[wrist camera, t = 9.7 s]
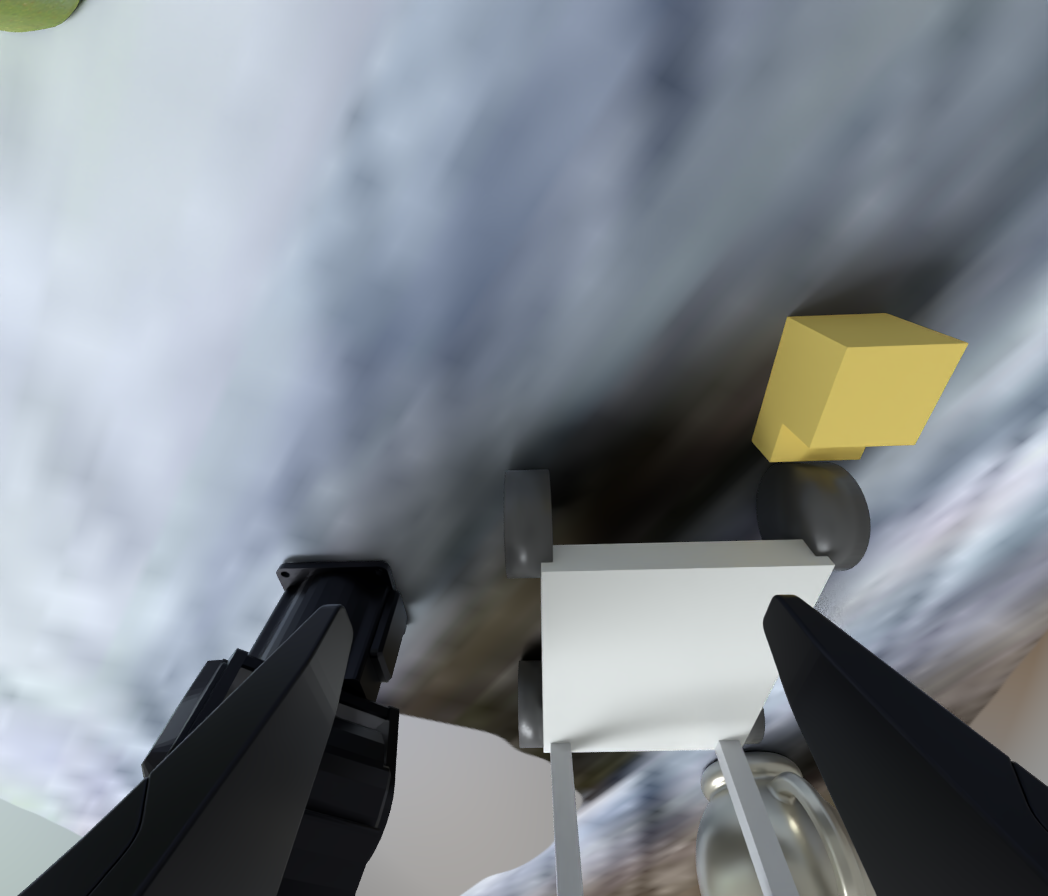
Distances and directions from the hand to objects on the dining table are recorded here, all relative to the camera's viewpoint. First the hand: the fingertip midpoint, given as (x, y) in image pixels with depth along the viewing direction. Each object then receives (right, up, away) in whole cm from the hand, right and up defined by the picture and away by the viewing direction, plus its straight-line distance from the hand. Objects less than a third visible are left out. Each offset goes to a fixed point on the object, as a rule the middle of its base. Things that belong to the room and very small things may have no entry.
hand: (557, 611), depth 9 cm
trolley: (+6, -5, +17) cm, 19 cm away
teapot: (+20, -25, +30) cm, 44 cm away
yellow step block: (+12, +6, +10) cm, 17 cm away
